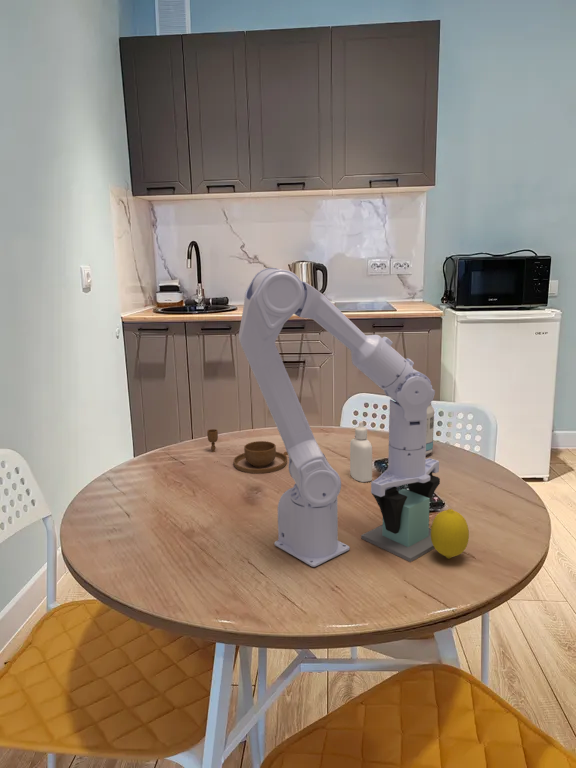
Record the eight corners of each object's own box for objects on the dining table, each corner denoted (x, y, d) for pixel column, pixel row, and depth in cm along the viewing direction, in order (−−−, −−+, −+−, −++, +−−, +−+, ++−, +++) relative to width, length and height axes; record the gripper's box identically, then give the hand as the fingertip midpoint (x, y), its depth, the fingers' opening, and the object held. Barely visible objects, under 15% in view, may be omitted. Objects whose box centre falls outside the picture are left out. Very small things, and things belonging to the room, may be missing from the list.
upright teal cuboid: (382, 535, 94) (382, 497, 93) (402, 525, 97) (403, 488, 96) (408, 547, 90) (408, 508, 89) (428, 536, 94) (429, 498, 92)
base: (361, 538, 95) (361, 535, 94) (400, 519, 101) (400, 516, 101) (410, 562, 87) (410, 558, 87) (449, 539, 93) (449, 536, 93)
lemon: (439, 545, 92) (441, 498, 90) (473, 556, 88) (476, 507, 87) (423, 559, 88) (425, 511, 86) (458, 571, 84) (460, 521, 82)
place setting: (230, 483, 120) (229, 456, 119) (204, 454, 138) (202, 430, 137) (306, 468, 127) (306, 443, 126) (271, 442, 145) (271, 420, 144)
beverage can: (420, 446, 137) (421, 397, 135) (439, 455, 131) (440, 404, 128) (395, 451, 135) (396, 401, 132) (413, 460, 128) (415, 408, 126)
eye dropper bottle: (370, 472, 122) (371, 418, 119) (372, 483, 117) (372, 426, 114) (350, 472, 123) (350, 418, 120) (350, 482, 117) (350, 426, 114)
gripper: (397, 462, 83) (395, 548, 86) (456, 439, 92) (452, 518, 95) (360, 450, 88) (360, 532, 91) (419, 430, 97) (417, 505, 100)
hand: (405, 524), depth 93 cm, fingers open, 6 cm apart
